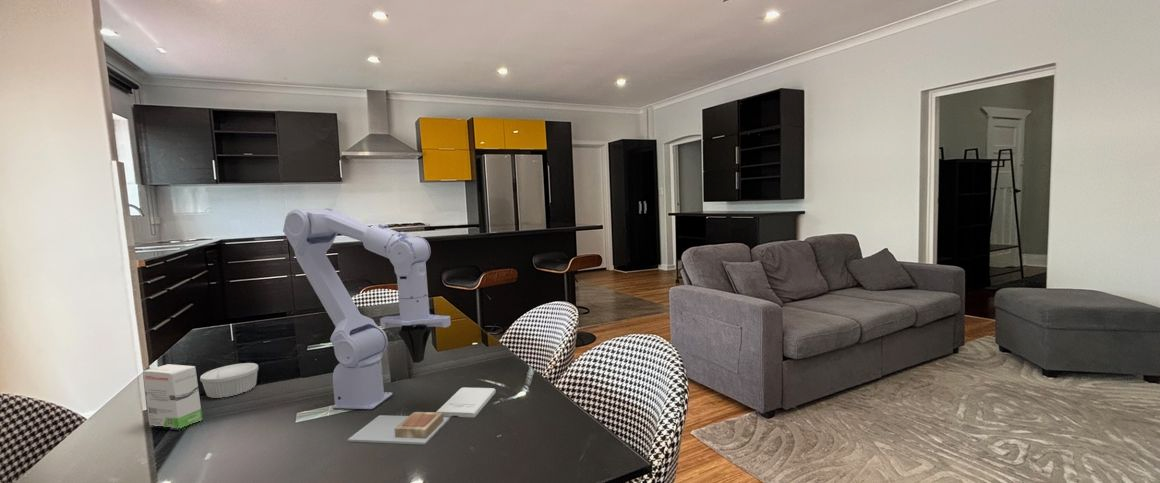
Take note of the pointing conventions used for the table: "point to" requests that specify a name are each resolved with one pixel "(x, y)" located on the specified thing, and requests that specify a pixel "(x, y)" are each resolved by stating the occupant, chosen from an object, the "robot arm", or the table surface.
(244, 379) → the ramekin
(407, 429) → the tile
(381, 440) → the mat
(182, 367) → the ink box
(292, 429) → the table surface
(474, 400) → the external hard drive
